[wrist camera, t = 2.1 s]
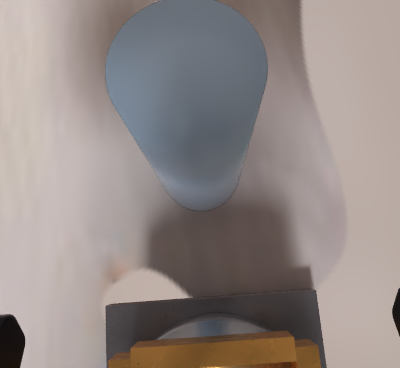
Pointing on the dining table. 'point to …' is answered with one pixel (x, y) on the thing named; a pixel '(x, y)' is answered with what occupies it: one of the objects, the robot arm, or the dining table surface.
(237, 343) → the open square bin
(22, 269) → the dining table surface
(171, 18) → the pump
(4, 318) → the robot arm
